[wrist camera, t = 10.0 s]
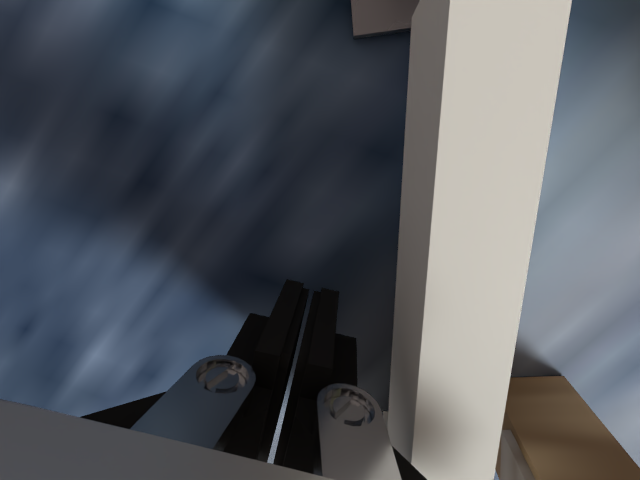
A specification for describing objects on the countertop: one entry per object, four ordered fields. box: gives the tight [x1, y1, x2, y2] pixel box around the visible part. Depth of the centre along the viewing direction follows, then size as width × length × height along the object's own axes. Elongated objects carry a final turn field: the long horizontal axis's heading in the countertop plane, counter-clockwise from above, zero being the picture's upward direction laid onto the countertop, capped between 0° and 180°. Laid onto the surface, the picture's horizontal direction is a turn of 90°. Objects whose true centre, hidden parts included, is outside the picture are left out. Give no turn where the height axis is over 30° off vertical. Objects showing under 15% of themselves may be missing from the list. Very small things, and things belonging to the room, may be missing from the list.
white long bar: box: [383, 0, 572, 480], centre depth 9 cm, size 14×2×5 cm, turn 0°
